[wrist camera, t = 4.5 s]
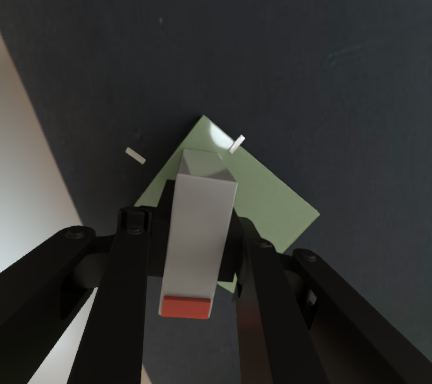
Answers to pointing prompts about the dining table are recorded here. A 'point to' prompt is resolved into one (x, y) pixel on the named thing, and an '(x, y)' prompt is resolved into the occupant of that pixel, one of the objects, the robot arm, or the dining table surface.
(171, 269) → the tap handle
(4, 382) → the robot arm
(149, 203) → the plate
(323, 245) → the dining table surface
